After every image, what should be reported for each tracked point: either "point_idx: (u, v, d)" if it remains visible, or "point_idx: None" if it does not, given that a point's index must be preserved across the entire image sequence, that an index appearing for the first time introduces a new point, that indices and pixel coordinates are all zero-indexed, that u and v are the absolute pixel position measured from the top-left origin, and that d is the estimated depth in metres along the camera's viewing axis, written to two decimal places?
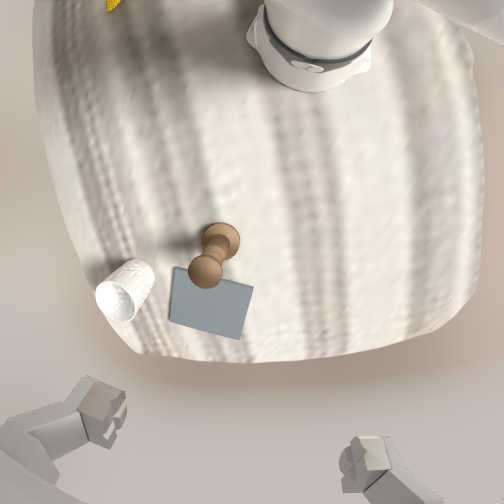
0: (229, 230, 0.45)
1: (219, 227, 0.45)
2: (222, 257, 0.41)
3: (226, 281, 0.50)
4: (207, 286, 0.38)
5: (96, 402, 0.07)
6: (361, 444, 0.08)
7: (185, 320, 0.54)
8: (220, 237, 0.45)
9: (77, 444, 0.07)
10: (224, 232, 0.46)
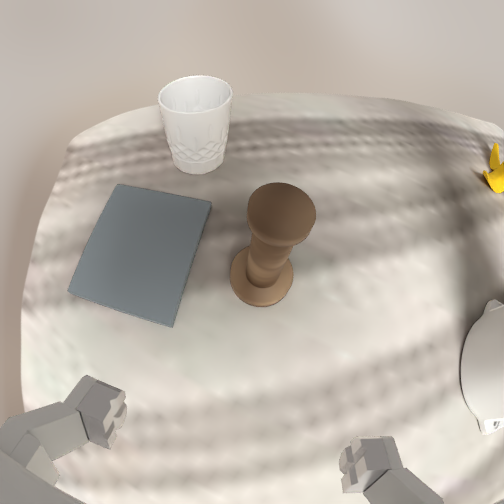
0: (286, 288, 0.27)
1: (289, 272, 0.28)
2: (278, 260, 0.22)
3: (185, 280, 0.28)
4: (254, 211, 0.18)
5: (96, 402, 0.07)
6: (361, 444, 0.08)
7: (115, 206, 0.30)
8: None
9: (77, 444, 0.07)
10: (282, 280, 0.28)
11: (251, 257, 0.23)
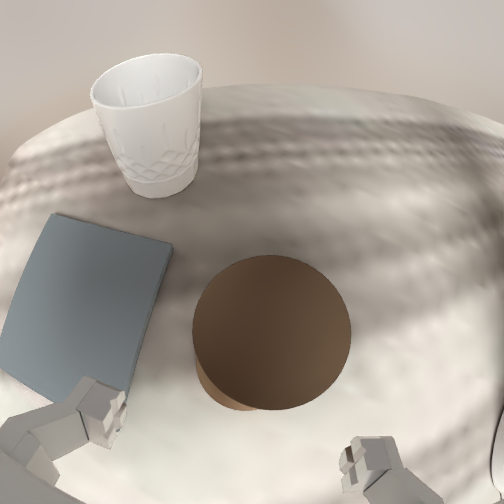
0: None
1: None
2: None
3: (132, 367, 0.17)
4: (206, 339, 0.07)
5: (96, 402, 0.07)
6: (361, 444, 0.08)
7: (46, 248, 0.19)
8: None
9: (77, 444, 0.07)
10: None
11: None
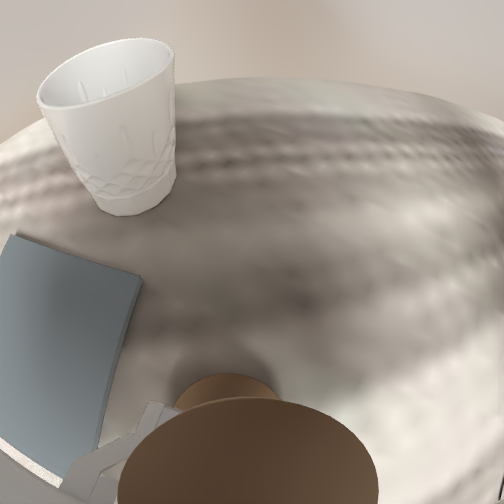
0: None
1: None
2: None
3: (98, 424, 0.12)
4: None
5: None
6: None
7: (4, 275, 0.15)
8: None
9: None
10: None
11: None
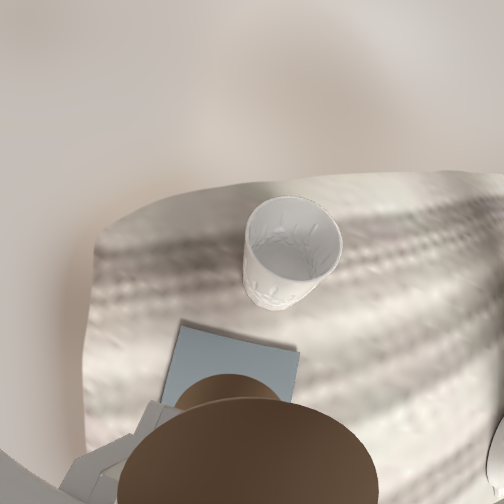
0: None
1: None
2: None
3: None
4: None
5: None
6: None
7: (186, 359, 0.26)
8: None
9: None
10: None
11: None
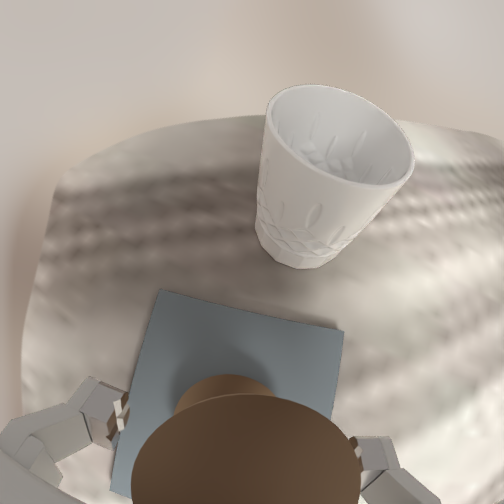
0: None
1: None
2: None
3: None
4: None
5: (99, 403, 0.07)
6: (358, 444, 0.08)
7: (166, 342, 0.16)
8: None
9: (80, 445, 0.07)
10: None
11: None
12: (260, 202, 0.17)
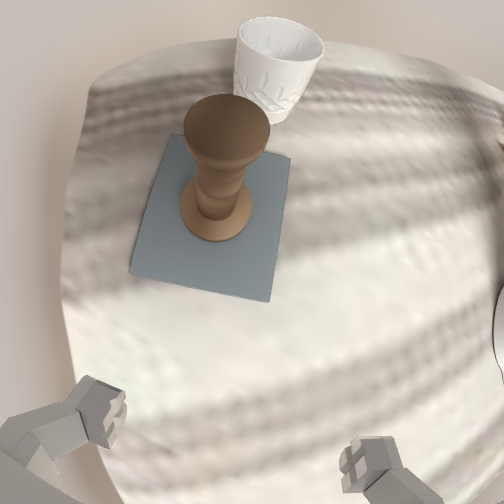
0: (244, 220, 0.24)
1: (248, 202, 0.24)
2: (227, 187, 0.18)
3: None
4: (191, 128, 0.13)
5: (96, 402, 0.07)
6: (361, 444, 0.08)
7: (176, 161, 0.26)
8: None
9: (77, 444, 0.07)
10: (239, 211, 0.24)
11: (198, 185, 0.19)
12: (235, 80, 0.25)
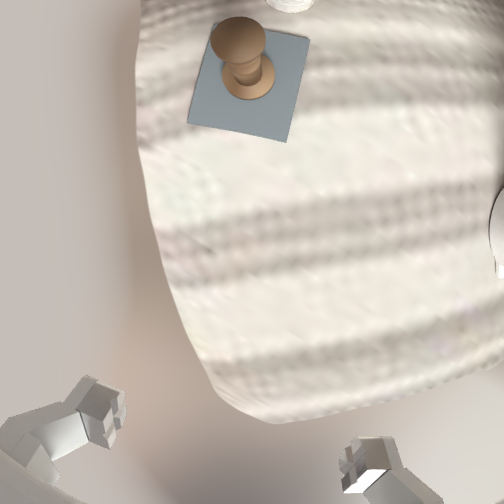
0: (268, 85, 0.29)
1: (271, 73, 0.28)
2: (247, 69, 0.23)
3: (294, 105, 0.31)
4: (214, 42, 0.19)
5: (96, 402, 0.07)
6: (361, 444, 0.08)
7: None
8: (261, 72, 0.27)
9: (77, 444, 0.07)
10: (264, 79, 0.28)
11: (229, 67, 0.24)
12: None
